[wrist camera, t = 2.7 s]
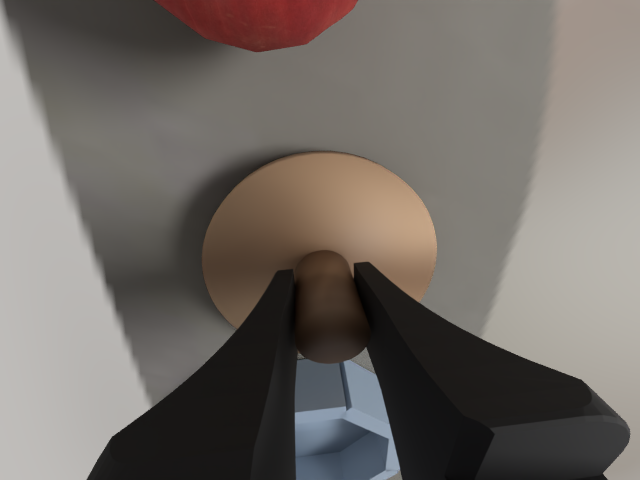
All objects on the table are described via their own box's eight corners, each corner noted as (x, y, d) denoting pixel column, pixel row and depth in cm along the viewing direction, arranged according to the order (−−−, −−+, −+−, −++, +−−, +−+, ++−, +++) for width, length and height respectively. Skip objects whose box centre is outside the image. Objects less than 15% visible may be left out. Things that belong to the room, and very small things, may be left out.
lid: (416, 331, 15) (458, 411, 11) (234, 351, 14) (212, 442, 10) (444, 140, 10) (536, 162, 6) (176, 161, 9) (96, 199, 6)
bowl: (384, 443, 21) (396, 492, 18) (246, 461, 21) (238, 514, 18) (393, 349, 16) (412, 398, 13) (210, 369, 15) (192, 424, 13)
